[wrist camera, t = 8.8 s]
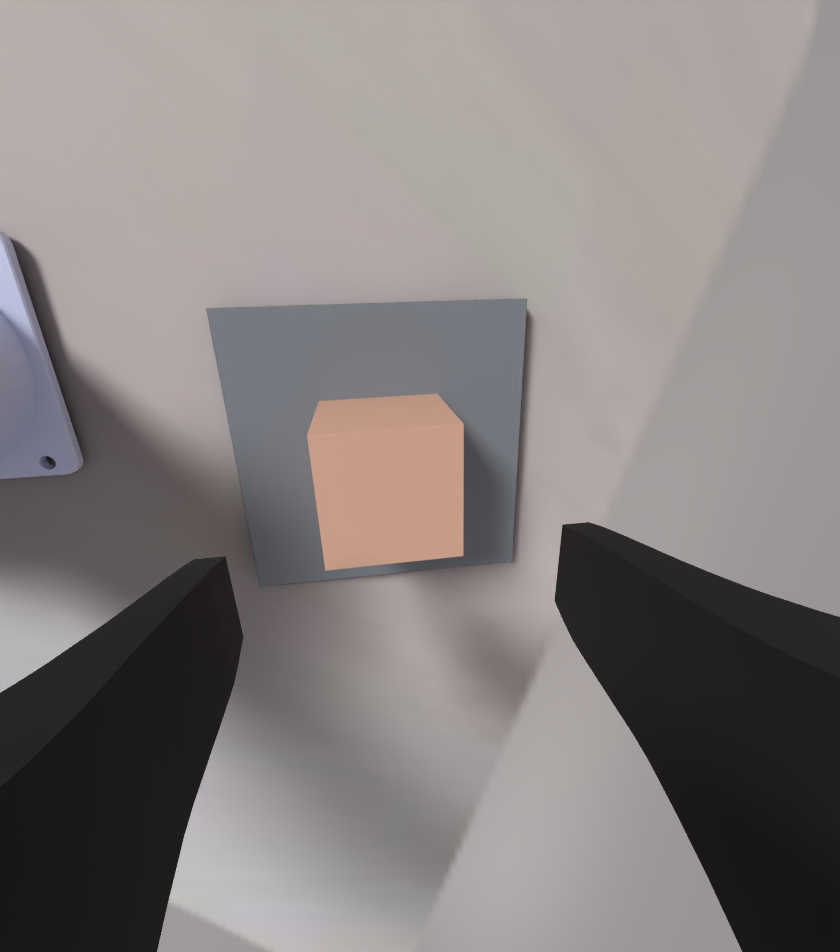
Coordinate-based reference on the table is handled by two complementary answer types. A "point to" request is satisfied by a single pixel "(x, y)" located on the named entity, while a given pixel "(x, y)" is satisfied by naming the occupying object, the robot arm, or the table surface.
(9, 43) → the table surface
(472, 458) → the mat
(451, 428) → the cube
